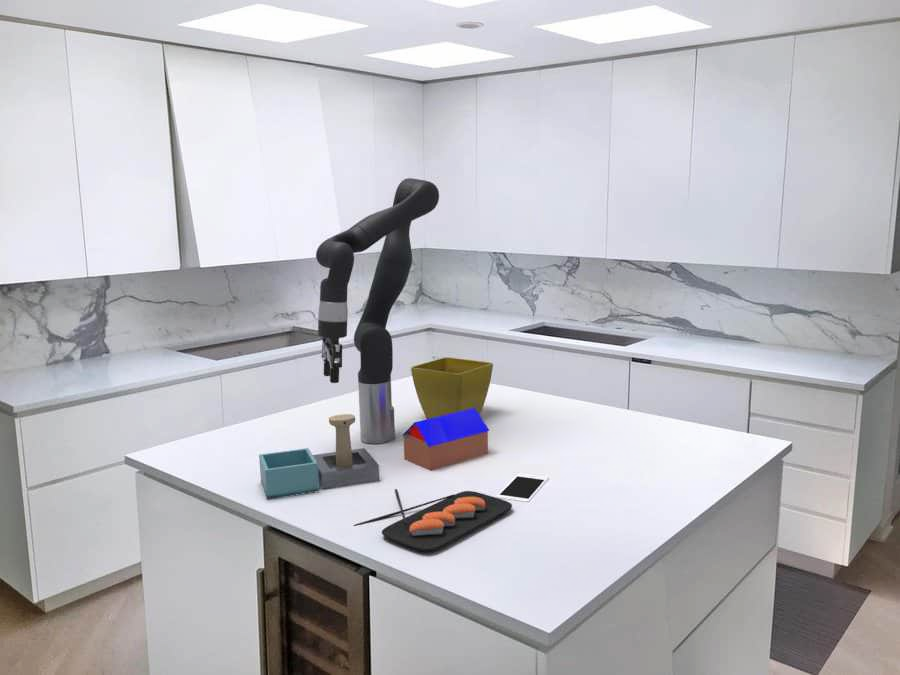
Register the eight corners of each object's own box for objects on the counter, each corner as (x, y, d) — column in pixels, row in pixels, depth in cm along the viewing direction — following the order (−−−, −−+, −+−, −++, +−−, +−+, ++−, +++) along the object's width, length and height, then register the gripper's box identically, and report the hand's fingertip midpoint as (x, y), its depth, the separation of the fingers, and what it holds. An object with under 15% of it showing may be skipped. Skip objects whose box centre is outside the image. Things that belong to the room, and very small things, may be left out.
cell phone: (549, 479, 183) (549, 477, 183) (528, 504, 169) (528, 501, 169) (518, 475, 187) (518, 473, 187) (495, 499, 172) (495, 496, 172)
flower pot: (446, 405, 250) (445, 356, 247) (495, 414, 239) (494, 362, 236) (410, 419, 235) (409, 367, 232) (460, 429, 224) (459, 374, 221)
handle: (360, 476, 187) (357, 418, 185) (335, 480, 185) (331, 421, 182) (354, 470, 192) (351, 413, 189) (329, 474, 189) (326, 416, 186)
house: (402, 460, 199) (401, 417, 197) (461, 443, 211) (460, 403, 209) (429, 472, 190) (428, 427, 188) (489, 454, 202) (489, 412, 200)
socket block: (365, 462, 197) (364, 448, 196) (379, 480, 184) (378, 465, 183) (311, 470, 192) (310, 455, 192) (322, 489, 179) (321, 473, 179)
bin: (309, 474, 189) (308, 448, 188) (319, 491, 178) (317, 463, 177) (260, 481, 185) (259, 454, 184) (267, 499, 174) (265, 470, 173)
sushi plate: (428, 561, 144) (428, 542, 143) (325, 520, 163) (324, 504, 162) (517, 512, 165) (517, 495, 165) (417, 481, 184) (417, 466, 184)
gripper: (353, 322, 192) (351, 384, 194) (341, 314, 205) (339, 373, 207) (323, 322, 189) (322, 385, 192) (313, 314, 202) (311, 373, 205)
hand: (330, 379), depth 199 cm, fingers open, 8 cm apart
